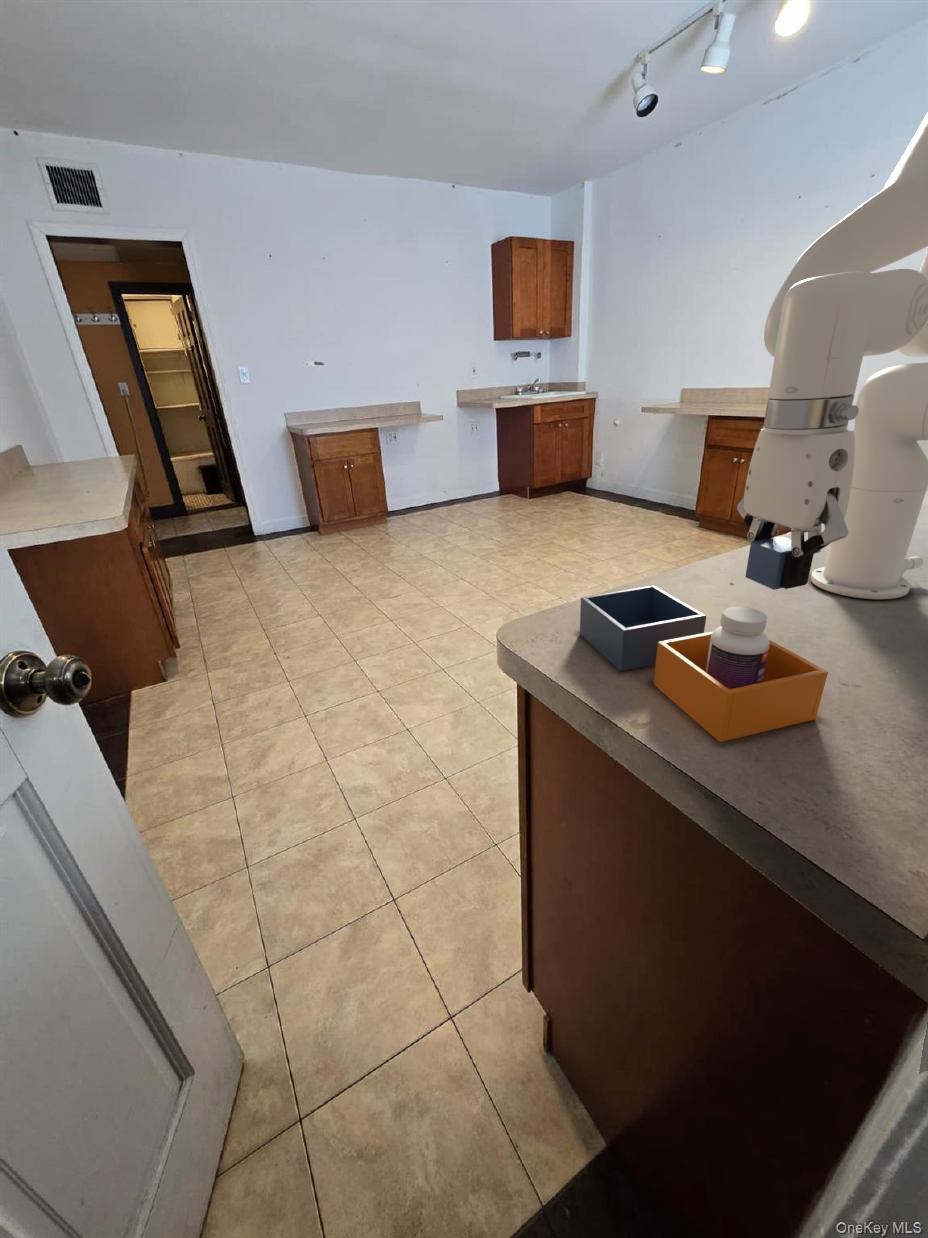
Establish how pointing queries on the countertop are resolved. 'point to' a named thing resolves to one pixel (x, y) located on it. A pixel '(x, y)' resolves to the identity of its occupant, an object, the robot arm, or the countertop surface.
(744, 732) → the amber bin
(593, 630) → the blue bin
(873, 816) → the countertop surface
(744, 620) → the pill bottle
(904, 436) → the robot arm
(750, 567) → the blue block
